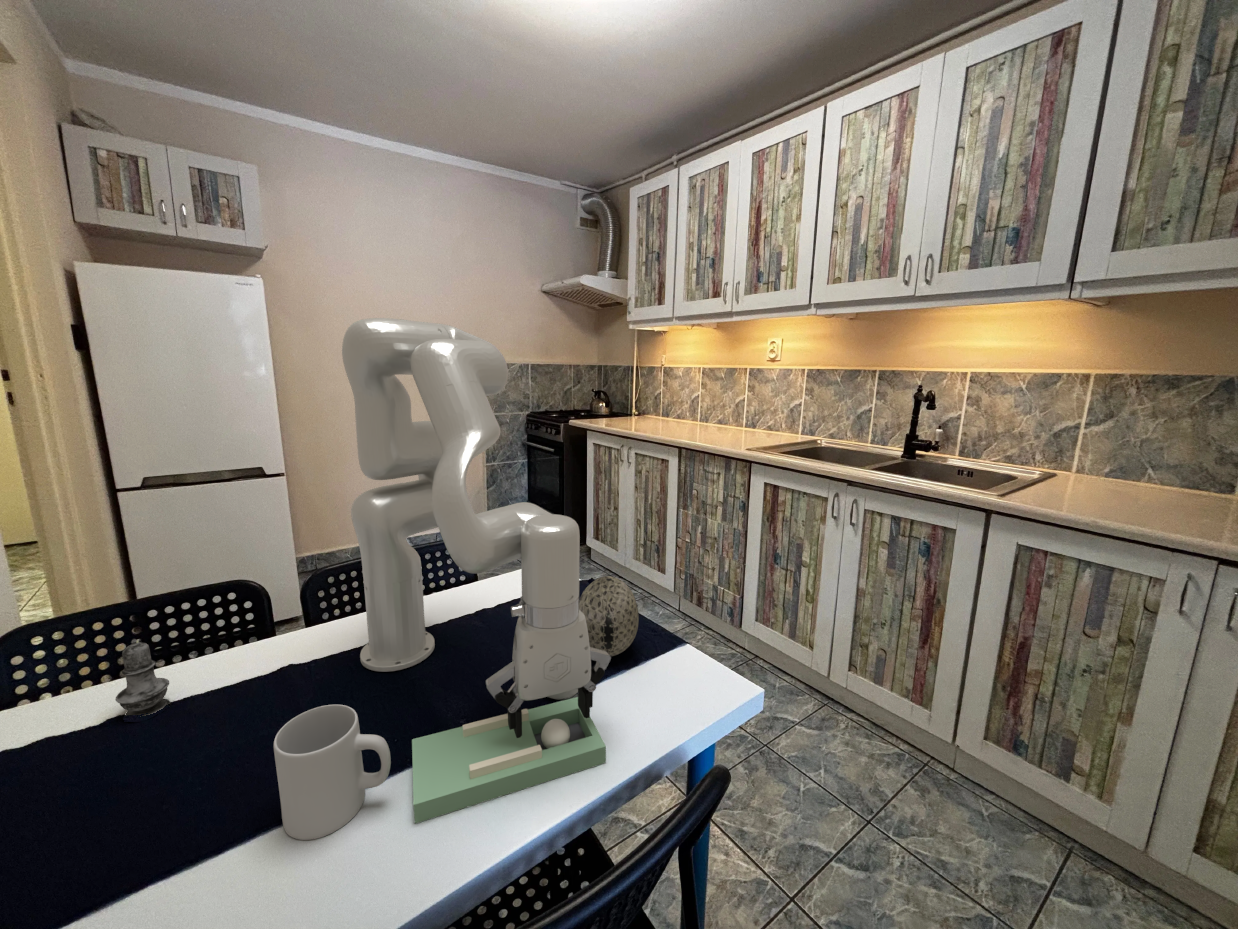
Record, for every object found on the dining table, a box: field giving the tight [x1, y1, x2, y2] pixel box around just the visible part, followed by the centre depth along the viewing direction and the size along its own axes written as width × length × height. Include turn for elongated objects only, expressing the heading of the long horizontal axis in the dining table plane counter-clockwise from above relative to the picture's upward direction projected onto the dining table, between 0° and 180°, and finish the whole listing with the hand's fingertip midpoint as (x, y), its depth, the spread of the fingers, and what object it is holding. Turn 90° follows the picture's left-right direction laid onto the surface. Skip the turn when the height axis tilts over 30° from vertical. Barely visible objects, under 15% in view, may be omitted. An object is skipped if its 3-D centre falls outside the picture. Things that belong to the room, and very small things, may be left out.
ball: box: [541, 719, 570, 749], centre depth 68 cm, size 4×4×4 cm
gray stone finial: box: [115, 638, 171, 717], centre depth 73 cm, size 6×6×12 cm
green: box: [411, 696, 607, 825], centre depth 66 cm, size 11×24×4 cm, turn 113°
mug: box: [273, 704, 392, 841], centre depth 58 cm, size 12×8×11 cm
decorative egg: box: [579, 575, 640, 657], centre depth 91 cm, size 12×12×15 cm
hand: (551, 721), depth 68 cm, fingers open, 9 cm apart
